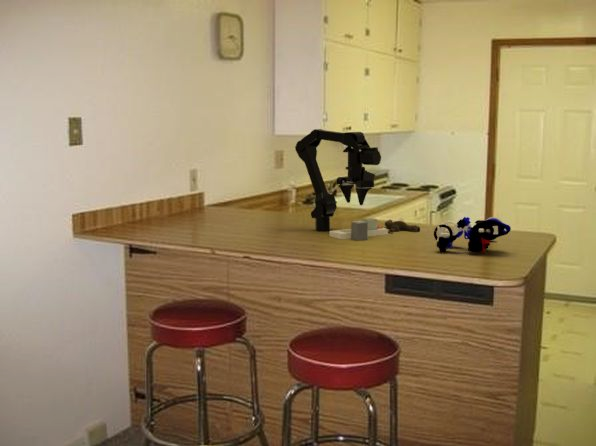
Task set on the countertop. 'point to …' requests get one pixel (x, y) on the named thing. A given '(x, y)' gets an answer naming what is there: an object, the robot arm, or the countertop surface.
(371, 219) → the lamp plug
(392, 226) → the faucet
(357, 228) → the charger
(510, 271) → the countertop surface
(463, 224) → the robot toy
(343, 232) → the power strip
